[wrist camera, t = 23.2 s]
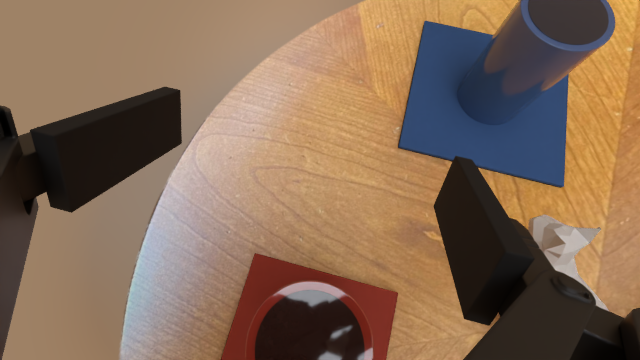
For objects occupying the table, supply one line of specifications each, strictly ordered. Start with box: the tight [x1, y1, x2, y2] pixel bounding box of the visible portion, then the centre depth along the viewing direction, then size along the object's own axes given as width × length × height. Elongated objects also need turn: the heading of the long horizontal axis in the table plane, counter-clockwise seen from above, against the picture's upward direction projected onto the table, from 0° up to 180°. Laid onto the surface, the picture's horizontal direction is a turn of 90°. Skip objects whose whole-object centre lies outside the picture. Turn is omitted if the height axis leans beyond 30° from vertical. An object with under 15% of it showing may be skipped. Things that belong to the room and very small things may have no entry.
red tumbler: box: [245, 279, 374, 360], centre depth 21 cm, size 7×7×11 cm
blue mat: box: [398, 21, 568, 187], centre depth 33 cm, size 16×16×1 cm
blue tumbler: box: [457, 0, 615, 125], centre depth 28 cm, size 7×7×11 cm
